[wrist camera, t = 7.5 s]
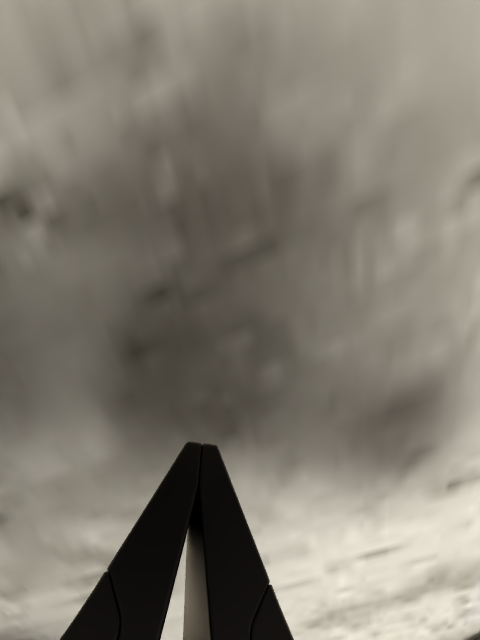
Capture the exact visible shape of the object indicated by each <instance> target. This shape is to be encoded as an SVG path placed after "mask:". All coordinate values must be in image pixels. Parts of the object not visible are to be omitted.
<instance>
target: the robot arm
mask: <svg viewBox="0 0 480 640" xmlns="http://www.w3.org/2000/svg"><path fill="white" fill-rule="evenodd" d="M187 531H188V533H187ZM186 535H187V552H186V578H185V604H184V630H183V640H294V639H293V636H292V634H291V632H290V629H289V627H288V624H287V622H286V620H285V617H284V615H283V613H282V610H281V608H280V605H279V603H278V600H277V598H276V595H275V592H274V590H273V587H272V585H270V584H269V582H270V580H269V578H268V575H267V572H266V570H265V567H264V565H263V562H262V560H261V557H260V554H259V552H258V549H257V547H256V544H255V542H254V539H253V536H252V534H251V531H250V529H249V526H248V524H247V521H246V519H245V516H244V513H243V511H242V508H241V506H240V503H239V501H238V498H237V495H236V493H235V490H234V488H233V485H232V483H231V480H230V477H229V475H228V472H227V470H226V467H225V465H224V462H223V460H222V457H221V454H220V452H219V449H218V447H217V446H216V445H211V444H203V445H201V443H197V442H187V443H186V444H185V446H184V447H183V449H182V451H181V452H180V454H179V455H178V457H177V459H176V460H175V462H174V463H173V465H172V466H171V468H170V470H169V471H168V473H167V474H166V476H165V478H164V479H163V481H162V482H161V484H160V486H159V487H158V489H157V490H156V492H155V493H154V495H153V497H152V498H151V500H150V501H149V503H148V505H147V506H146V508H145V509H144V511H143V512H142V514H141V516H140V517H139V519H138V520H137V522H136V524H135V525H134V527H133V528H132V530H131V532H130V533H129V535H128V536H127V538H126V539H125V541H124V543H123V544H122V546H121V547H120V549H119V551H118V552H117V554H116V555H115V557H114V559H113V560H112V562H111V563H110V565H109V566H108V569H107V571H106V572H105V573H104V574H103V576H102V577H101V579H100V580H99V582H98V583H97V585H96V587H95V588H94V590H93V591H92V593H91V594H90V596H89V597H88V599H87V600H86V602H85V604H84V605H83V607H82V608H81V610H80V611H79V613H78V614H77V616H76V617H75V619H74V620H73V622H72V623H71V625H70V626H69V627H68V629H67V630H66V632H65V633H64V634H63V636H62V637H61V638H60V640H160V638H161V634H162V630H163V627H164V623H165V619H166V615H167V611H168V607H169V603H170V599H171V595H172V591H173V587H174V583H175V579H176V575H177V571H178V567H179V563H180V559H181V555H182V551H183V547H184V543H185V539H186Z"/></svg>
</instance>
